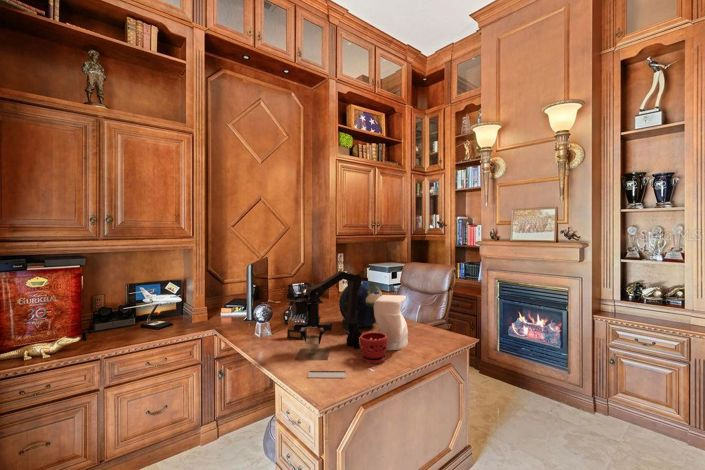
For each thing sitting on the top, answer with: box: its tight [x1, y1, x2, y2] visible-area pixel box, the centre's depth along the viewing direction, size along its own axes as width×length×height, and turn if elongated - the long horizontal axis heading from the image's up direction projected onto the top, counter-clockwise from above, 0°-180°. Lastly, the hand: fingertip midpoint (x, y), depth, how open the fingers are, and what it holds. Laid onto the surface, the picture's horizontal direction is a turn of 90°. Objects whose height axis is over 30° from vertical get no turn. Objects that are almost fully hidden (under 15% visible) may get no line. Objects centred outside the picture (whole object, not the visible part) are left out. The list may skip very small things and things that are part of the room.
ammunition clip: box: [286, 317, 305, 341], centre depth 192 cm, size 11×2×12 cm, turn 69°
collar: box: [305, 334, 321, 349], centre depth 165 cm, size 6×6×5 cm
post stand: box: [294, 347, 331, 361], centre depth 165 cm, size 16×16×7 cm
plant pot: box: [359, 331, 387, 364], centre depth 160 cm, size 13×13×12 cm
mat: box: [307, 370, 347, 379], centre depth 147 cm, size 16×14×1 cm
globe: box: [338, 280, 384, 328], centre depth 217 cm, size 30×30×30 cm
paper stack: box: [374, 294, 409, 351], centre depth 179 cm, size 21×27×26 cm
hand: (313, 343), depth 165 cm, fingers closed on collar, 6 cm apart
